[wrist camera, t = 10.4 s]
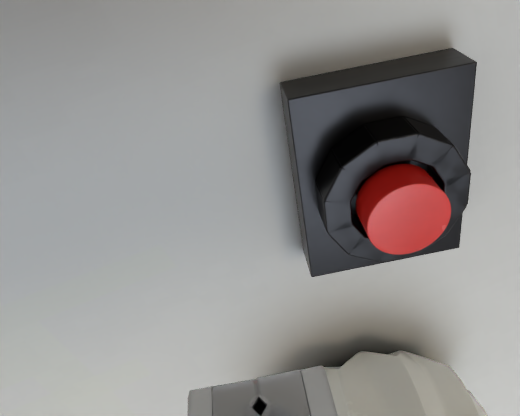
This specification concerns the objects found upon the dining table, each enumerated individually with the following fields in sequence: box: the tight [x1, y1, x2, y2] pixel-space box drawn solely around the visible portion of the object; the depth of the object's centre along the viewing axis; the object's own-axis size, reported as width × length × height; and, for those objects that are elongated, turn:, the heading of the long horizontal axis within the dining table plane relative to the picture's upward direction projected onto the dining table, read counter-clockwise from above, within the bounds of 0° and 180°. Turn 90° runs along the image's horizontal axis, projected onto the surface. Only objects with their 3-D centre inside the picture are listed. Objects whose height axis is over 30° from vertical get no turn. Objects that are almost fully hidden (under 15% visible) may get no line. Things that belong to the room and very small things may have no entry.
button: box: [355, 164, 451, 255], centre depth 21 cm, size 4×4×2 cm
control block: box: [280, 48, 477, 277], centre depth 23 cm, size 10×8×4 cm
